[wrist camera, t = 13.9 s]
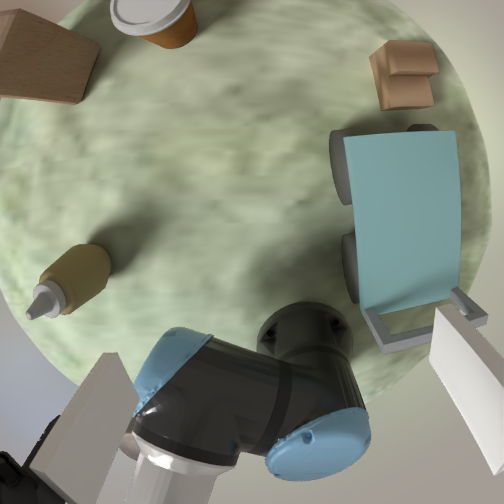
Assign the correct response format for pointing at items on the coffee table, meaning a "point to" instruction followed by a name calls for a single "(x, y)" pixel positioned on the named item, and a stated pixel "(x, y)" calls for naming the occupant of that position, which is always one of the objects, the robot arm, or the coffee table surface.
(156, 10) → the disposable coffee cup
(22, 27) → the block
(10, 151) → the coffee table surface
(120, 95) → the coffee table surface
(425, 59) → the block
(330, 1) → the coffee table surface
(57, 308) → the squeeze bottle
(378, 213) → the trolley
